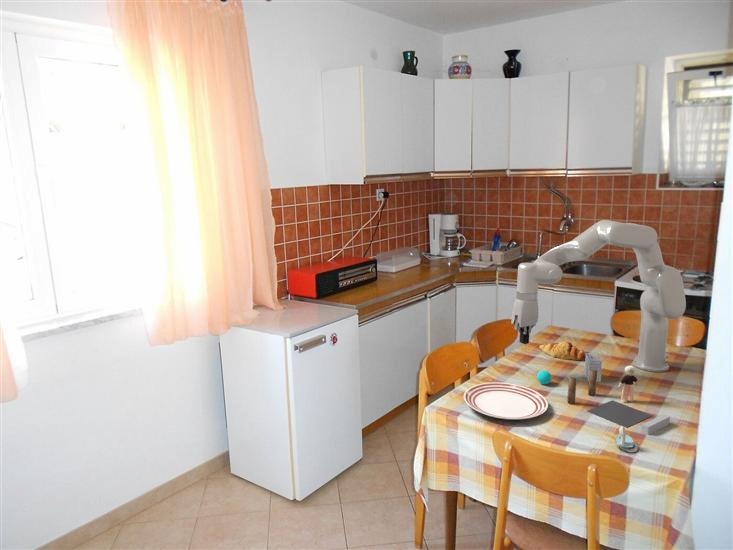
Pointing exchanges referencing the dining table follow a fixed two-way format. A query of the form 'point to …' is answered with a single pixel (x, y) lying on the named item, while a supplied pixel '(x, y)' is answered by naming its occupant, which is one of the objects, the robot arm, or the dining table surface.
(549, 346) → the croissant
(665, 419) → the wall
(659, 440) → the dining table surface
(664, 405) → the dining table surface
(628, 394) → the grandmother figurine
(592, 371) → the post near arm
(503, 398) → the dinner plate
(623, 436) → the pacifier
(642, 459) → the dining table surface
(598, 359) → the medicine box
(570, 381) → the post far
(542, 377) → the ball
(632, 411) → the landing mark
